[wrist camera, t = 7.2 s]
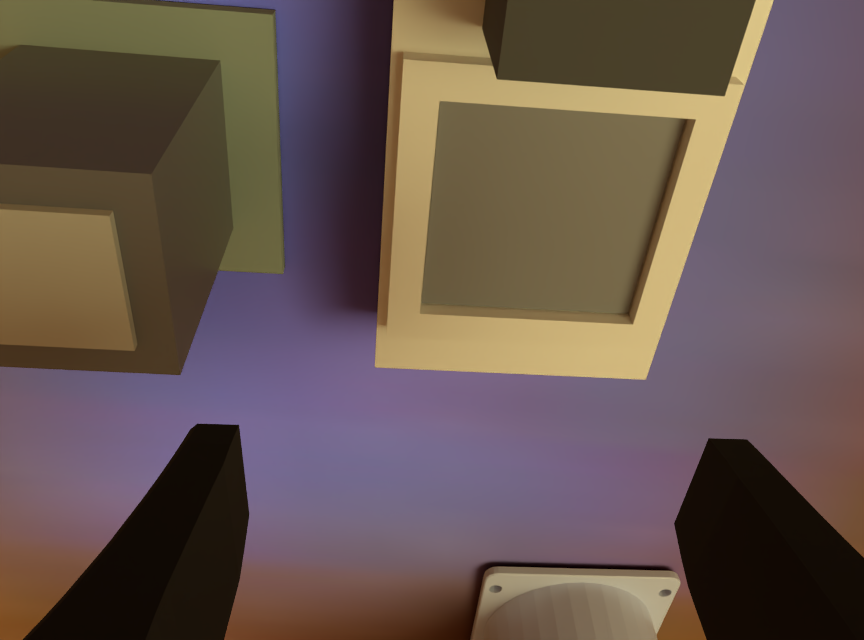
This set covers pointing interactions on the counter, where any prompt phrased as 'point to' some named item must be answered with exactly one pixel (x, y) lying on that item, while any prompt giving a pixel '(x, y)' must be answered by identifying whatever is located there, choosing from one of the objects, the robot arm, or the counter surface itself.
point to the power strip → (534, 206)
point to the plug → (618, 42)
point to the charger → (109, 207)
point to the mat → (241, 81)
